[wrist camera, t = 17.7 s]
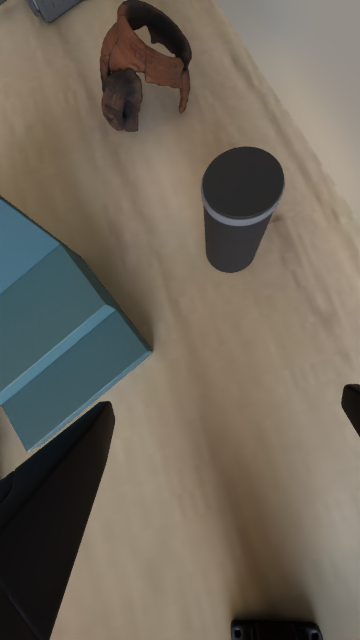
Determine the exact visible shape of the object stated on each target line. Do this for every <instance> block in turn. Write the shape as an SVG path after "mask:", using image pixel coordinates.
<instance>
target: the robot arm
mask: <svg viewBox="0 0 360 640" xmlns="http://www.w3.org/2000/svg"><path fill="white" fill-rule="evenodd" d="M341 405H342V408H343V410H344V412H345V413H346V415H347V417H348V418H349V420H350V422H351V423H352V425H353V427H354V428H355V430H356V432H357V433H358V435H359V437H360V385H359V384H347V385H345V386H344V389H343V395H342V401H341ZM114 425H115V416H114V412H113V408H112V404H111V402H109V401H103V402H99V403H98V404H96V405H95V406H94V407H93V408H91V409H90V410H89V411H88V412H86V413H85V414H84V415H83V416H81V417H80V418H79V419H77V420H76V421H75V422H74V423H72V424H71V425H70V426H69V427H67V428H66V429H65V430H64V431H62V432H61V433H60V434H59V435H57V436H56V437H55V438H54V439H52V440H51V441H50V442H49V443H47V444H46V445H45V446H44V447H42V448H41V449H40V450H39V451H37V452H36V453H35V454H34V455H32V456H31V457H30V458H29V459H27V460H26V461H25V462H24V463H22V464H21V465H20V466H18V467H17V468H16V469H15V471H12V472H11V473H10V474H8V475H7V476H6V477H5V478H3V479H2V480H1V481H0V640H49V639H50V636H51V633H52V630H53V627H54V624H55V621H56V618H57V615H58V611H59V608H60V605H61V602H62V599H63V596H64V593H65V590H66V587H67V584H68V580H69V577H70V574H71V571H72V568H73V565H74V562H75V559H76V556H77V553H78V549H79V546H80V543H81V540H82V537H83V534H84V531H85V528H86V525H87V522H88V518H89V515H90V512H91V509H92V506H93V503H94V500H95V497H96V494H97V491H98V487H99V484H100V481H101V478H102V475H103V472H104V469H105V465H106V462H107V458H108V453H109V449H110V444H111V439H112V434H113V430H114ZM237 629H238V630H240V631H236V630H237ZM313 632H316V633H315V634H312V633H313ZM231 637H232V640H323V637H322V634H321V631H320V629H319V627H318V625H317V624H316V623H314V622H306V621H271V620H233V621H232V623H231Z"/></svg>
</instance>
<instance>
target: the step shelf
mask: <svg viewBox="0 0 360 640" xmlns="http://www.w3.org/2000/svg"><path fill="white" fill-rule="evenodd" d="M152 353H153V350H152V349H151V347H150V346H149V345H148V344H147V342H146V341H145V340H144V338H143V337H142V336H141V334H140V333H139V332H138V331H137V329H136V328H135V327H134V325H133V324H132V323H131V321H130V320H129V319H128V318H127V316H126V315H125V314H124V312H123V311H122V310H121V308H120V307H119V306H118V305H117V303H116V302H115V301H114V299H113V298H112V297H111V295H110V294H109V293H108V291H107V290H106V289H105V288H104V286H103V285H102V284H101V282H100V281H99V280H98V278H97V277H96V276H95V275H94V273H93V272H92V271H91V269H90V268H89V267H88V265H87V264H86V263H85V262H84V260H83V259H82V258H81V256H79V255H78V254H77V253H75V252H74V251H73V250H71V249H70V248H69V247H67V246H66V245H65V244H63V243H62V242H61V241H60V240H58V239H57V238H56V237H54V236H53V235H52V234H50V233H49V232H48V231H46V230H45V229H44V228H43V227H41V226H40V225H39V224H37V223H36V222H35V221H33V220H32V219H31V218H29V217H28V216H27V215H26V214H24V213H23V212H22V211H20V210H19V209H18V208H16V207H15V206H14V205H12V204H11V203H10V202H8V201H7V200H6V199H5V198H3V197H2V196H1V195H0V405H2V408H3V409H4V411H5V413H6V415H7V417H8V419H9V420H10V422H11V424H12V426H13V428H14V429H15V431H16V433H17V435H18V437H19V438H20V440H21V442H22V444H23V446H24V448H25V449H26V451H27V452H28V451H30V450H32V449H34V448H36V447H38V446H40V445H42V444H44V443H45V442H46V441H47V440H48V439H50V438H51V437H52V436H53V435H54V434H56V433H57V432H58V431H59V430H60V429H62V428H63V427H64V426H65V425H66V424H68V423H69V422H70V421H71V420H72V419H74V418H75V417H76V416H77V415H79V414H80V413H81V412H82V411H83V410H85V409H86V408H87V407H88V406H89V405H91V404H92V403H93V402H94V401H95V400H97V399H98V398H99V397H100V396H101V395H103V394H104V393H105V392H106V391H107V390H109V389H110V388H111V387H112V386H113V385H115V384H116V383H117V382H118V381H119V380H121V379H122V378H123V377H124V376H125V375H127V374H128V373H129V372H130V371H131V370H133V369H134V368H135V367H136V366H137V365H139V364H140V363H141V362H142V361H143V360H145V359H146V358H147V357H148V356H149V355H151V354H152Z"/></svg>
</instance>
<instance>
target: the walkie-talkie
mask: <svg viewBox="0 0 360 640" xmlns="http://www.w3.org/2000/svg"><path fill="white" fill-rule="evenodd" d="M5 1H7V0H0V5H1V4H2V3H4V2H5ZM26 1H27V2H28V4H29V6H30V7H31V9H32V11H33V13H34V14H35V16H39V13H40V14H41V15H42V17H43V18H44V20H45V21H46V22H52V21H53V20H55V19H56V18H58V17H59V16H61V15H62V14H63V13H65V12H66V11H68V10H69V9H71V8H72V7H73V6H75V5H76V4H78V3H79V2H81V1H82V0H26Z"/></svg>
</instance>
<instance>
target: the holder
mask: <svg viewBox="0 0 360 640" xmlns="http://www.w3.org/2000/svg"><path fill="white" fill-rule="evenodd" d="M284 186H285V178H284V173H283V170H282V167H281V165H280V164H279V162H278V161H277V159H276V158H275V157H274V156H272V155H271V154H270V153H268V152H266V151H264V150H262V149H259V148H255V147H238V148H233V149H230V150H228V151H226V152H224V153H222V154H220V155H219V156H218V157H216V158H215V159H214V160H213V161H212V162H211V164H210V165H209V166H208V168H207V169H206V171H205V173H204V175H203V178H202V183H201V195H202V201H203V204H204V222H205V241H206V255H207V258H208V260H209V262H210V263H211V265H212V266H213V267H215V268H216V269H218V270H220V271H222V272H227V273H233V272H238V271H240V270H243V269H244V268H246V267H247V266H248V265H249V264H250V263H251V262H252V260H253V258H254V256H255V254H256V251H257V249H258V246H259V244H260V242H261V239H262V237H263V235H264V232H265V230H266V228H267V225H268V223H269V221H270V218H271V216H272V214H273V211H274V209H275V208H276V207H277V205H278V203H279V201H280V199H281V197H282V194H283V191H284Z"/></svg>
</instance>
